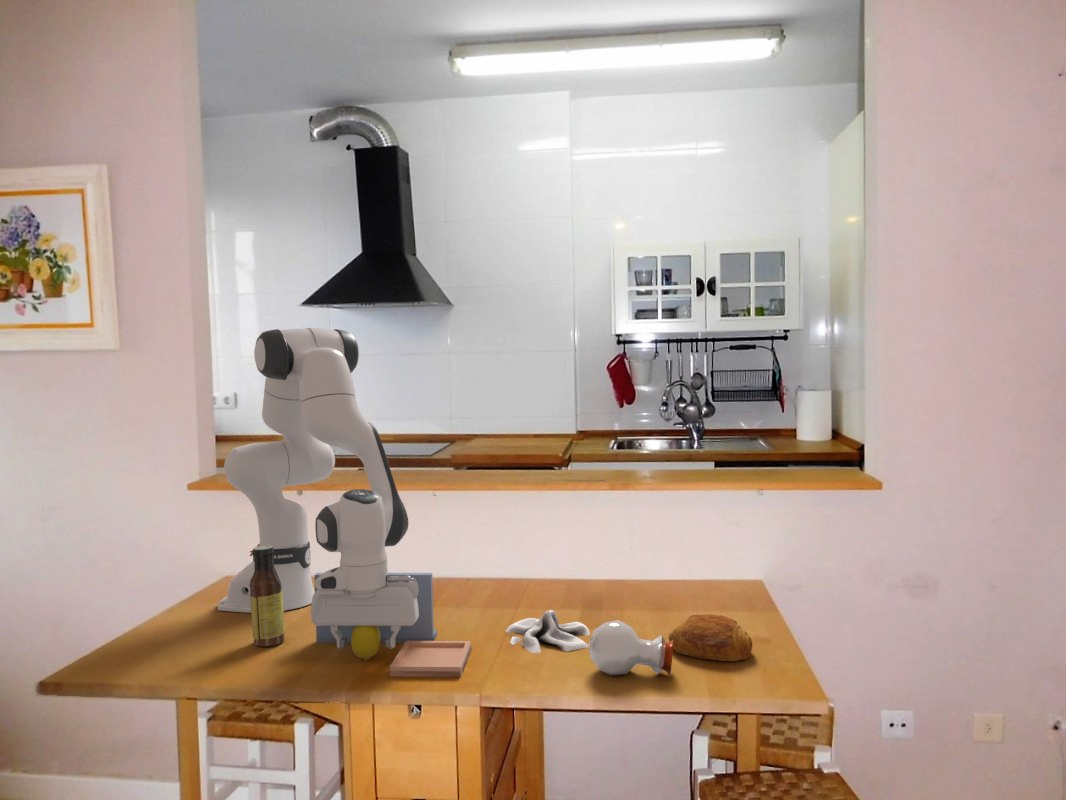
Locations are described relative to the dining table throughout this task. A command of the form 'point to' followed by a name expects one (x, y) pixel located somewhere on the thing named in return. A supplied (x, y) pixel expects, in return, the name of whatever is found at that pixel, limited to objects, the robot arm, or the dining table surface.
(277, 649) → the dining table surface
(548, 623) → the cloth
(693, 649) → the croissant
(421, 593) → the screen
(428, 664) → the dish
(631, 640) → the potion bottle
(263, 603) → the sauce bottle
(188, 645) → the dining table surface
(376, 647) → the lemon
